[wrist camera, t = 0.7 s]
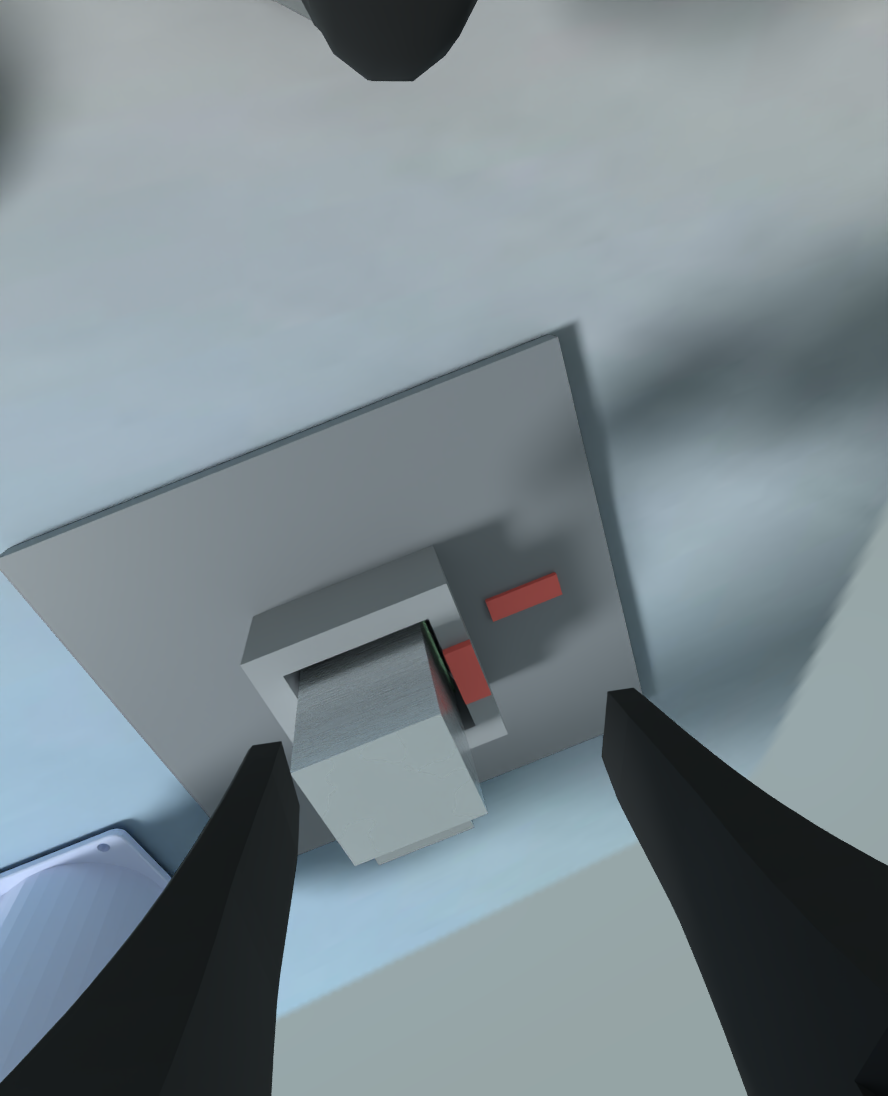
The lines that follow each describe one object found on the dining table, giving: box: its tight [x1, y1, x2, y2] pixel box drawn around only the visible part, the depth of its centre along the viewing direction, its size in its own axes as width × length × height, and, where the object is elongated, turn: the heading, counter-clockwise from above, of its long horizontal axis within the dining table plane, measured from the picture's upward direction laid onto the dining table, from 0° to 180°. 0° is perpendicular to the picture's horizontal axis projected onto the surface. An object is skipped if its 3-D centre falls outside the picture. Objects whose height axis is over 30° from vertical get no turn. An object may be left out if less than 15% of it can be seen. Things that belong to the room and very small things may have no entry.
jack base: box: [0, 335, 643, 855], centre depth 21 cm, size 20×18×4 cm
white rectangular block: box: [290, 620, 488, 866], centre depth 19 cm, size 5×5×7 cm
